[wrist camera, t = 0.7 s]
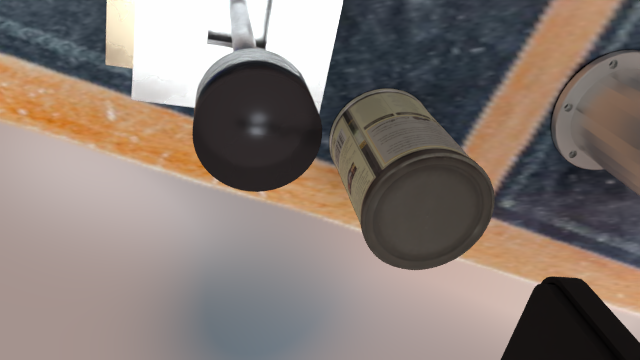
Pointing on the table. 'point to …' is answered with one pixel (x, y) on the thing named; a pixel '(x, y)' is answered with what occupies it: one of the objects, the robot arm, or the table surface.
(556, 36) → the table surface
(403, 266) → the coffee can
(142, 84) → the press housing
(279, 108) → the plunger
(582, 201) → the table surface
